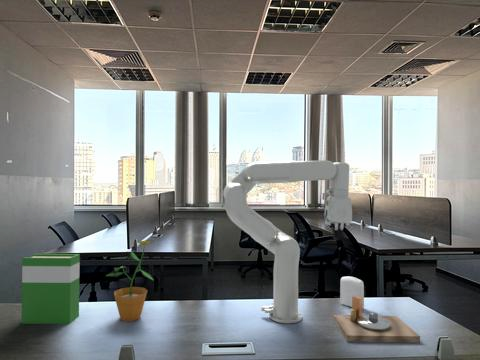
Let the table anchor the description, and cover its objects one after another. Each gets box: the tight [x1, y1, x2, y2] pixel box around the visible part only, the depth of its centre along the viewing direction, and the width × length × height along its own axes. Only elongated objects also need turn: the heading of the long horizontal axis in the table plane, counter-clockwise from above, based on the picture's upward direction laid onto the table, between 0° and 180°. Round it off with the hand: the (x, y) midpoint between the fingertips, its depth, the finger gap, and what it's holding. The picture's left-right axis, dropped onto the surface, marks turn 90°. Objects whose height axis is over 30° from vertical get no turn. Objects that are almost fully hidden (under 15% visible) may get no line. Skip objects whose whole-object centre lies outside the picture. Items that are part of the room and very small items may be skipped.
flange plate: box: [351, 296, 390, 331], centre depth 126 cm, size 14×11×8 cm
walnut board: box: [332, 308, 421, 343], centre depth 125 cm, size 24×18×6 cm
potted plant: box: [104, 240, 154, 322], centre depth 135 cm, size 18×19×30 cm
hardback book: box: [21, 253, 81, 325], centre depth 132 cm, size 18×7×24 cm, turn 90°
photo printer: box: [339, 275, 365, 310], centre depth 150 cm, size 10×4×12 cm, turn 39°
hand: (337, 239), depth 139 cm, fingers closed
